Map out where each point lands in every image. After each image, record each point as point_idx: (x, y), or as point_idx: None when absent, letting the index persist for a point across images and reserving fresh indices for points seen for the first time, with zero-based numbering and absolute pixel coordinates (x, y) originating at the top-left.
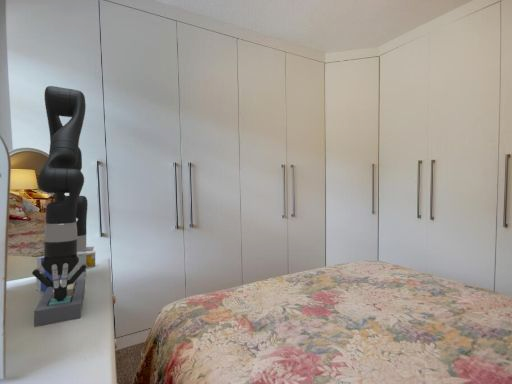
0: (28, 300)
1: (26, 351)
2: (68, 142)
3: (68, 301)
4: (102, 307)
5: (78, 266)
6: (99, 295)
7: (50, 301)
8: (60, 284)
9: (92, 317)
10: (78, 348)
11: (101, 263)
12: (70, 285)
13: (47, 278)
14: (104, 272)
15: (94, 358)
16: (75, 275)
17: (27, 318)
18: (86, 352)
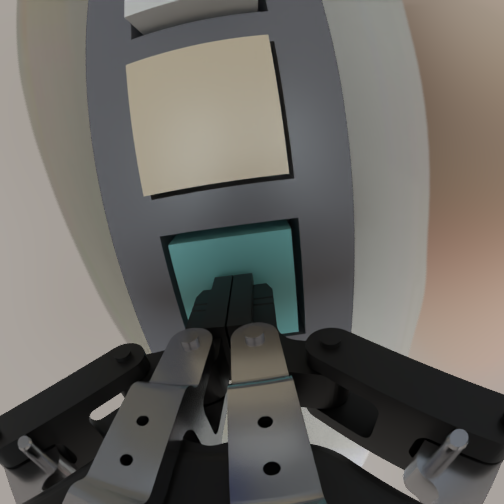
0: (56, 31)
1: (227, 434)
2: None
3: (290, 331)
4: (411, 232)
5: (429, 494)
6: (383, 46)
7: (183, 296)
8: (155, 9)
9: (371, 322)
10: (328, 442)
11: None
12: (248, 61)
13: (99, 402)
14: None
15: (349, 457)
16: (372, 440)
17: (112, 243)
18: (340, 449)
